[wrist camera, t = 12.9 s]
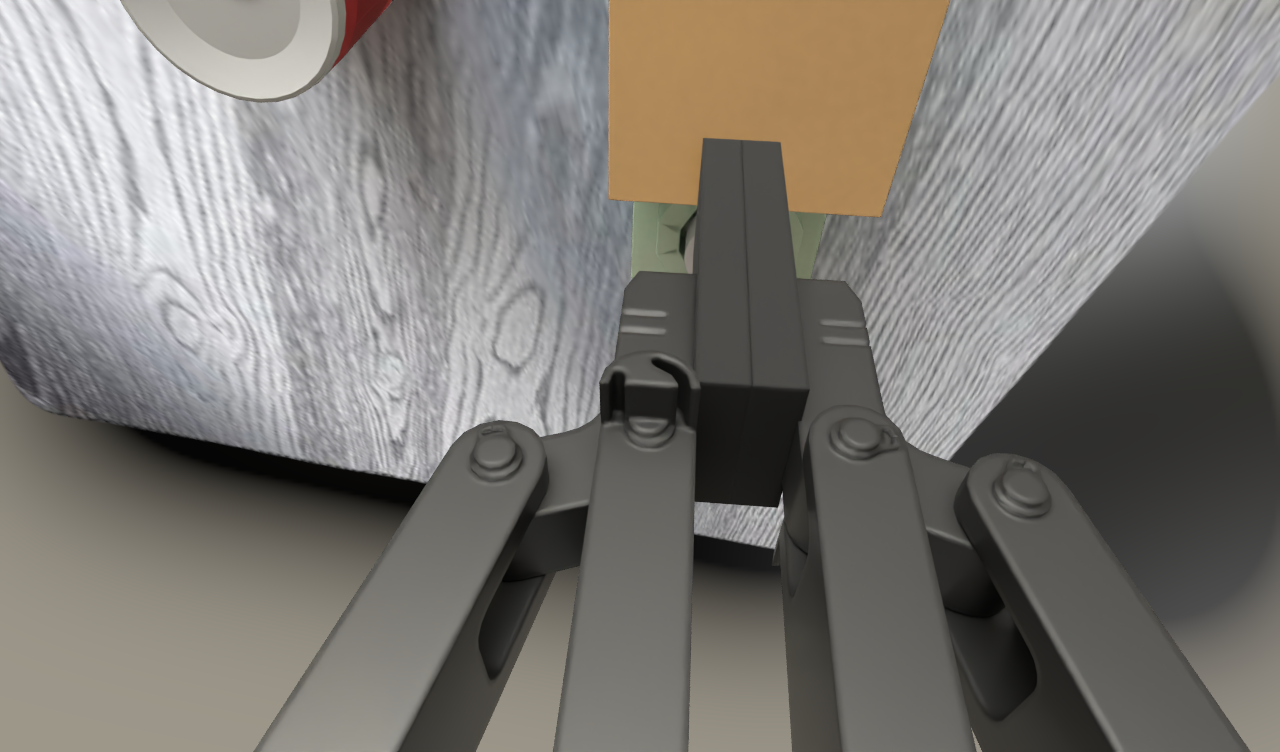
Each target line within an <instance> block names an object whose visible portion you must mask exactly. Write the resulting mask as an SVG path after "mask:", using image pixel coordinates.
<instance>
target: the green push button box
mask: <svg viewBox="0 0 1280 752" xmlns="http://www.w3.org/2000/svg"><path fill="white" fill-rule="evenodd" d="M696 215H697V206H696V205H681V204H665V203H650V202H635V201H633V225H632V257H631V278H634V277H635V276H636V274H637V273H638V272H639V271H652V272H669V273H685V274H688V272H687V270H686V267H685V262H684V254H685V235H686V231H687V228H688V226H689V224H690V222H691V221H692V219H693V218H694V217H695V216H696ZM826 215H827V214H819V213H804V212H789V217H790V226H791V234H792V242H793V251H794V259H795V268H796V276H797V278H801V279H811V275H812V271H813V267H814V263H815V259H816V255H817V251H818V247H819V243H820V239H821V235H822V231H823V227H824V223H825V219H826Z"/></svg>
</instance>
